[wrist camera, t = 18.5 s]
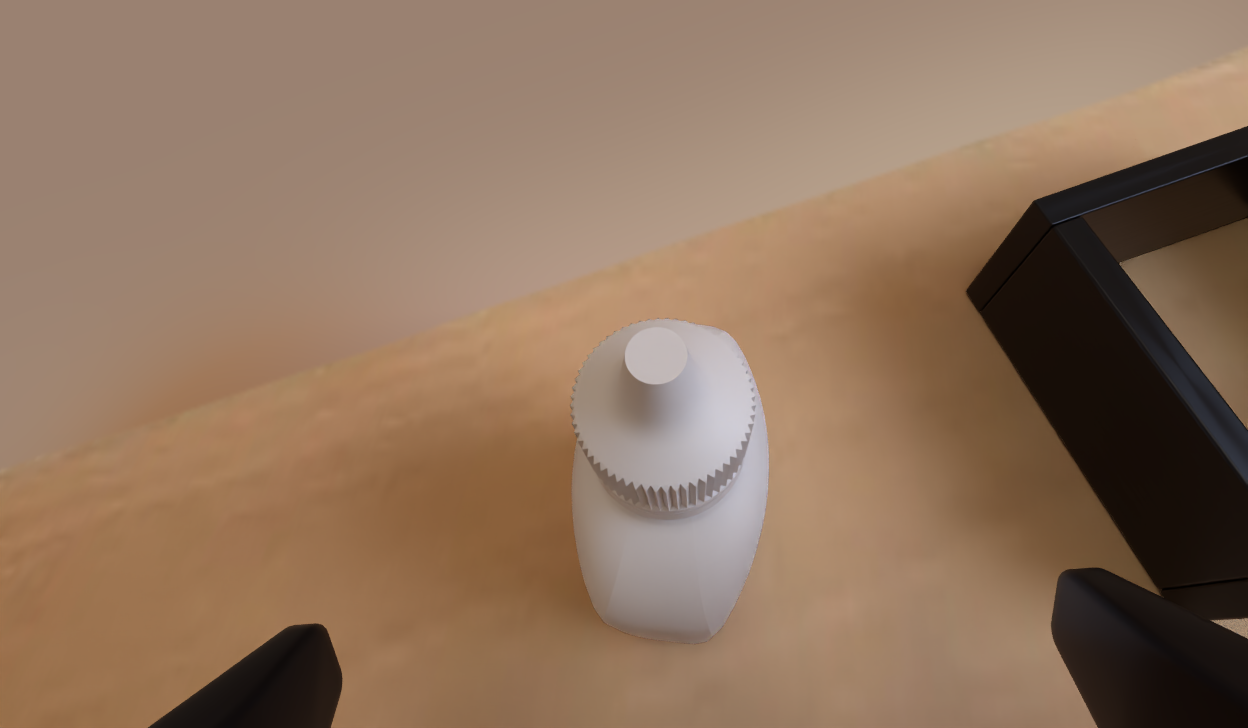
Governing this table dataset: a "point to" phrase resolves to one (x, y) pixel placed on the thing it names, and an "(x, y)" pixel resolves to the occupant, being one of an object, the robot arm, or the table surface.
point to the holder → (1133, 364)
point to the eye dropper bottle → (667, 478)
